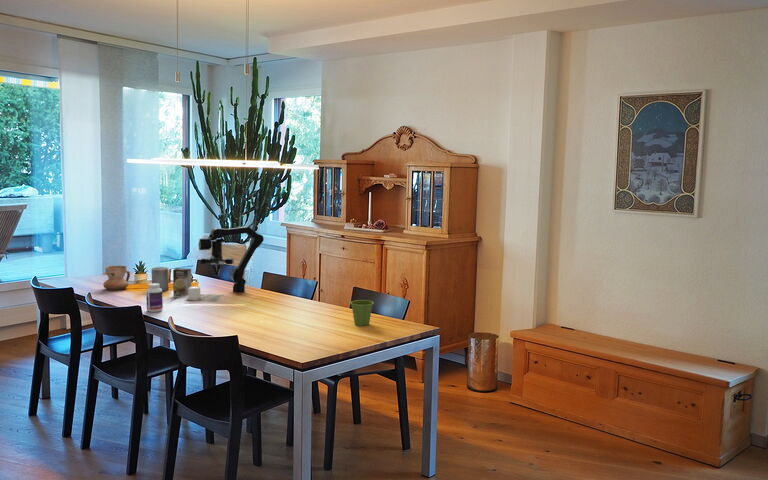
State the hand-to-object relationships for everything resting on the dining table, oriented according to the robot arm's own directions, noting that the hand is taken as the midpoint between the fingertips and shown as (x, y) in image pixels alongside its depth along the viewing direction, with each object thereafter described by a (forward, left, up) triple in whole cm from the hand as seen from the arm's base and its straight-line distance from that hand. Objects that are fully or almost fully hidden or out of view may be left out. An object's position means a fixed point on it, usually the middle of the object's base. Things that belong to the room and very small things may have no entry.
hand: (217, 275), depth 397 cm
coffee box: (+20, +3, -12) cm, 24 cm away
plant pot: (-87, +70, -12) cm, 112 cm away
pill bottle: (+23, +45, -12) cm, 52 cm away
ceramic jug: (+65, -15, -12) cm, 68 cm away
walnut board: (+4, +14, -12) cm, 19 cm away
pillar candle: (+38, -13, -12) cm, 42 cm away
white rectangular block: (+9, +18, -11) cm, 23 cm away
